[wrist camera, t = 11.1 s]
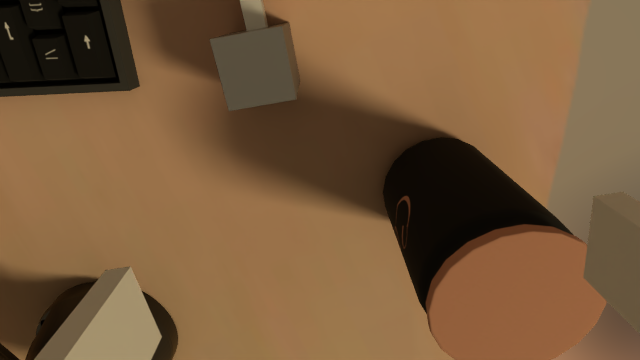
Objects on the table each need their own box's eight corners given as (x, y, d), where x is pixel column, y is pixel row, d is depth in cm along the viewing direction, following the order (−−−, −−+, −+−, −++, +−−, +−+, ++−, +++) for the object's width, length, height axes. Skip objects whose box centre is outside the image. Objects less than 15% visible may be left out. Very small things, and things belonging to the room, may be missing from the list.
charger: (246, 90, 36) (228, 111, 28) (219, -19, 32) (191, -27, 25) (300, 80, 35) (296, 99, 28) (279, -30, 32) (268, -42, 24)
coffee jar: (367, 155, 38) (406, 266, 22) (474, 117, 37) (602, 204, 20) (397, 241, 42) (450, 389, 26) (495, 210, 41) (616, 345, 24)
